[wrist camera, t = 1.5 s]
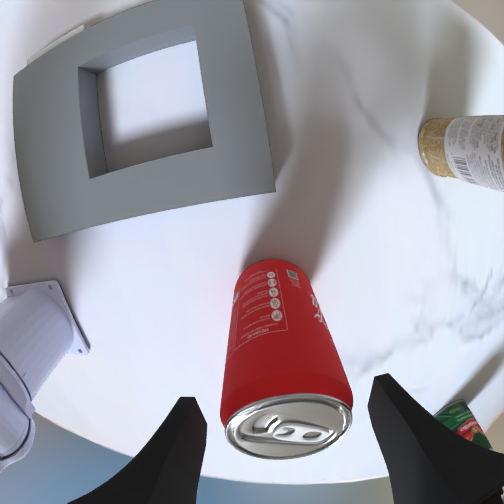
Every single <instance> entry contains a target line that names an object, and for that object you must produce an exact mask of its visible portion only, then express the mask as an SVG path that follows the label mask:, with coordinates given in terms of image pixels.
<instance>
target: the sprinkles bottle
mask: <svg viewBox="0 0 504 504" xmlns="http://www.w3.org/2000/svg"><path fill="white" fill-rule="evenodd" d="M418 143H419V152H420V156H421V159H422V161H423V163H424V165H425V166H426V167H427V169H428V170H429V171H430V172H432V173H433V174H435V175H437V176H441V177H447V176H448V177H453V178H458V179H460V180H462V181H465V182H469V183H472V184H476V185H480V186H484V187H487V188H491V189H495V190H498V191H502V192H504V115H482V116H465V117H457V118H451V119H439V118H436V119H430V120H429V121H427V122H426V123H425V124H424V125H423V127H422V128H421V131H420V133H419V139H418Z"/></svg>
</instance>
